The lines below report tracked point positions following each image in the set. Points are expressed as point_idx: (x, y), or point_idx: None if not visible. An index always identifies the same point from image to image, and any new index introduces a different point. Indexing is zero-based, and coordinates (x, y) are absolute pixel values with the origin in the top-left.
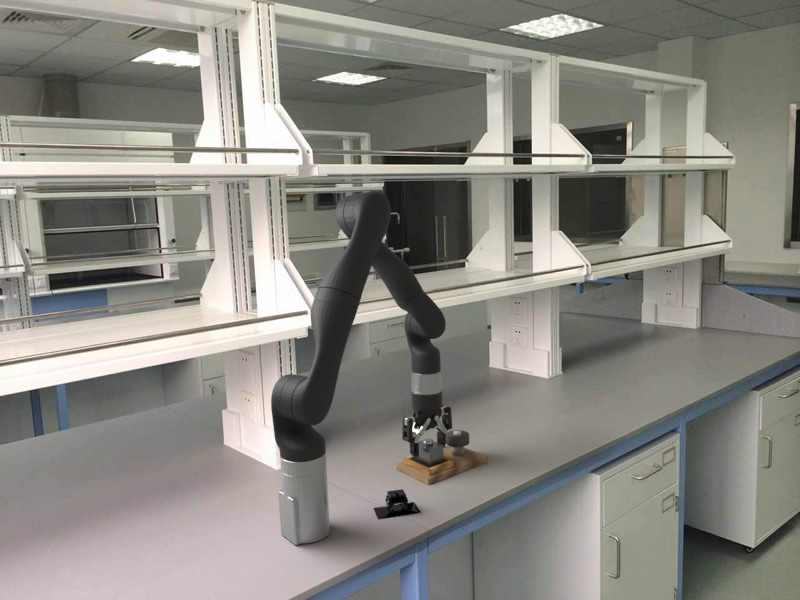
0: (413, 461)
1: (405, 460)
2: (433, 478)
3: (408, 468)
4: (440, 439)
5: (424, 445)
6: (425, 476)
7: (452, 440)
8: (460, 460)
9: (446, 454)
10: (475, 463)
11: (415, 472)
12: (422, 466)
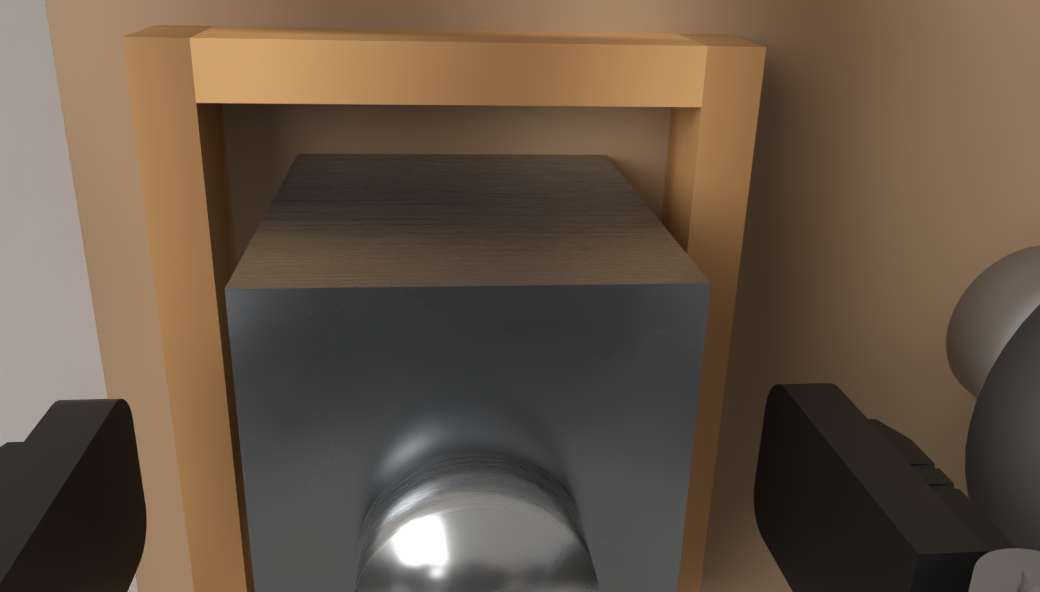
0: (194, 282)
1: (139, 90)
2: None
3: (117, 229)
4: (826, 567)
5: (356, 553)
6: (168, 577)
7: None
8: None
9: (931, 220)
10: None
11: (128, 403)
12: (200, 514)
